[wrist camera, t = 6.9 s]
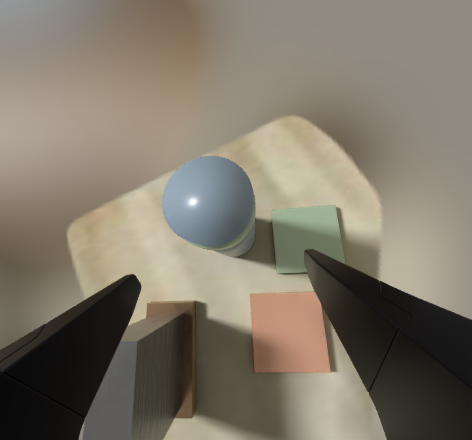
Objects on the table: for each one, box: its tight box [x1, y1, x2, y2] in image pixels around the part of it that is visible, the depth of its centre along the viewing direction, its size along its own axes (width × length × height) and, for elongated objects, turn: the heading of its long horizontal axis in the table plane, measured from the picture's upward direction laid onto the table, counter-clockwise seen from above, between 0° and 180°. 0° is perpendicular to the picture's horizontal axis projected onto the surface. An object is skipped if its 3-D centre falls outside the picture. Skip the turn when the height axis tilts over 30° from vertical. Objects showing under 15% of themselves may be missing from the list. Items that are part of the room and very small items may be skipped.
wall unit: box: [83, 301, 196, 440], centre depth 16 cm, size 10×5×9 cm, turn 2°
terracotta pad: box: [250, 292, 331, 372], centre depth 19 cm, size 7×7×1 cm
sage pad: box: [271, 205, 346, 273], centre depth 21 cm, size 7×7×1 cm
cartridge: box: [162, 156, 256, 257], centre depth 17 cm, size 5×5×12 cm
